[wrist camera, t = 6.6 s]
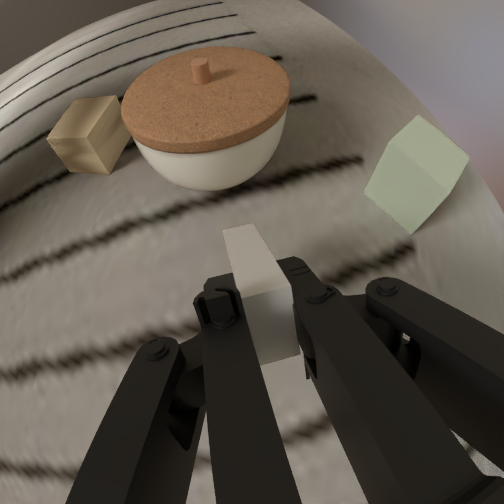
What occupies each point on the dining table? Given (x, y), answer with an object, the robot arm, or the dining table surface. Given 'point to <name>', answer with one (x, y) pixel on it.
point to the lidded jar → (208, 115)
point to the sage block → (416, 173)
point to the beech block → (90, 135)
